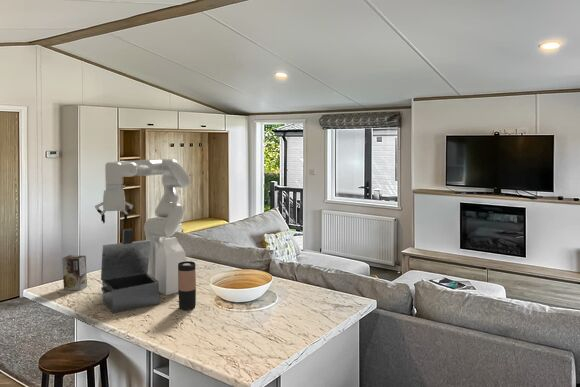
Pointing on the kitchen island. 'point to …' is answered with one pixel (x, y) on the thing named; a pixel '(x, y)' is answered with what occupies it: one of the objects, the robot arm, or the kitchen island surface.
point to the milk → (168, 265)
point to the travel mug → (187, 285)
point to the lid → (125, 257)
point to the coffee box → (74, 272)
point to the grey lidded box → (130, 292)
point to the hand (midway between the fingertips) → (114, 222)
